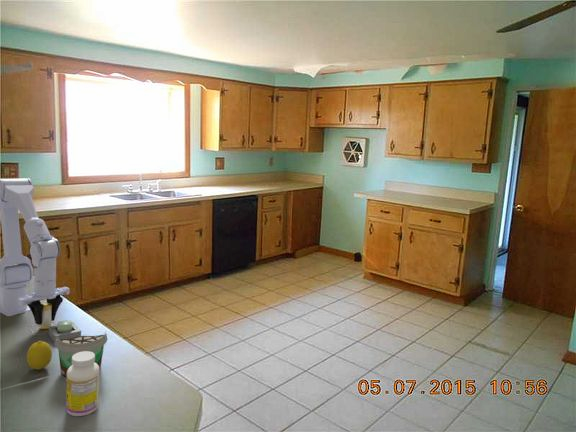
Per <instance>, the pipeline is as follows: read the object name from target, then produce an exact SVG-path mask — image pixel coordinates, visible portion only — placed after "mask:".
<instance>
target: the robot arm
mask: <svg viewBox="0 0 576 432" xmlns="http://www.w3.org/2000/svg"><path fill="white" fill-rule="evenodd" d="M34 187H35V186H34V183H33V180H31V179H30V178H29V177H25V178H24V177H23V178H22V177H21V178H19V177H18V178H0V224H1V236H2V237H1V238H2V245H3V256H2V257H1V258H0V313H1V314H3V315H5V316H7V317H11V316H15V315H19V314H22V313H26V312H29V311H30V312H31V313H32V316H33V318H34V323H35V325H37V326H39V325H41V324H42V312H43V308H44V305H43V304H42V302H41V301H45V300H46V303H51V304H52V322H55V319H56V315H57V312H58V310H59V307H60V306H61V304H62V302H63V301H64V299H63V298H64V297H62V296H63V295H66V296H67V295H70V288H69V287H67V286H63V287H57V258H59V257H60V254H61V245H60V243H59V240H58V239H57V238H55V237H54V236H53V235H51V234H50V230H49V228H48V226H47V224H46V223H45V221H44V219H42V218H40V217H39V216H38V213H37V209H36V207H35V204H34V200H33V197H34V192H35V191H34V190H35V188H34ZM19 213H20V215H21V216H22V219H23V220H24V221H25V223H24V224H23V229H24V231H25V234H26V236H27V239H28V241H29V243H30V248H29V254H30V257H31V259H30V258H29V257H27V256H24V255H23V251H22V250H23V249H22V239H21V238H22V237H21V229H20V219H19ZM32 265H33V266H32ZM32 280H33V292H32V293H30V294H28V285H30V282H32Z"/></svg>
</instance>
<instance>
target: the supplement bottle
mask: <svg viewBox="0 0 576 432" xmlns="http://www.w3.org/2000/svg"><path fill="white" fill-rule="evenodd" d="M94 361H95V354H94V353H93V352H90V351H83V352H78V353H76V354H74V355H73V356H72V366H70V367H69V369H68V370H67V378H66V388H65V389H66V392H65V393H66V394H65V395H66V398H65V399H66V400H65V401H66V402H65V403H66V404H65V407H66V408H65V409H66V412H67V413H68V415H70V416H73V417H84V416H88V415H91V414H92V413H93V412H95V411H96V410H97V409H98V407H99V405H100V403H99V401H100V400H99V399H100V371H99V366H98V364H96V363H95V362H94Z"/></svg>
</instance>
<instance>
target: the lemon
mask: <svg viewBox="0 0 576 432" xmlns="http://www.w3.org/2000/svg"><path fill="white" fill-rule="evenodd" d="M52 355H53V353H52V348H51V345H50V344H49V343H48V342H46V341H42V340H38V341H36V342H34V343H32V344H31V345H30V346H29V348H28V350H27V353H26V361H27V365H28V366H29V367H30V368H31V369H33V370H37V371H41V370H42V369H44V368H45V367H47V366H48V365H49V364H50V362H51V361H52V358H53V357H52Z"/></svg>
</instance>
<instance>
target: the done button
mask: <svg viewBox="0 0 576 432" xmlns="http://www.w3.org/2000/svg"><path fill="white" fill-rule="evenodd" d="M73 322H74V321H72V320H61V321H60V320H59V321H58V322H56V323H57V332H58V334H59V333H64V332H69V331H72V323H73Z"/></svg>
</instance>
